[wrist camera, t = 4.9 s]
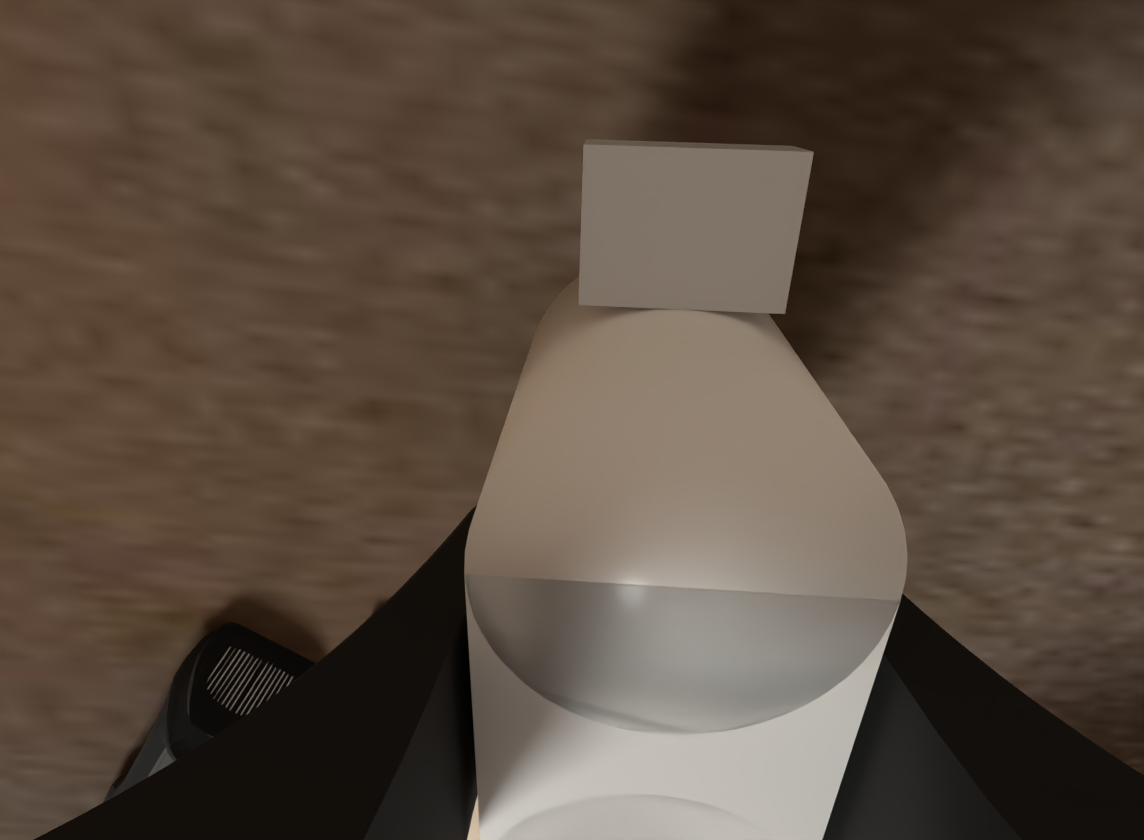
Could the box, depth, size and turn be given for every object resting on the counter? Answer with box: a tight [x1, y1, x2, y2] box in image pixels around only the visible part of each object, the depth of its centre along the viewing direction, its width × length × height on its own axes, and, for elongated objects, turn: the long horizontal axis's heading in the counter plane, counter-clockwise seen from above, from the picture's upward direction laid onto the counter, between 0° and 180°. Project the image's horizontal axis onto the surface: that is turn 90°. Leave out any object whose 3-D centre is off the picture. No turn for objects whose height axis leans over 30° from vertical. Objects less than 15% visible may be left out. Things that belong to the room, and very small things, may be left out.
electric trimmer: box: [103, 623, 315, 803], centre depth 21 cm, size 4×16×3 cm, turn 144°
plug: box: [464, 139, 907, 840], centre depth 9 cm, size 11×4×5 cm, turn 178°
